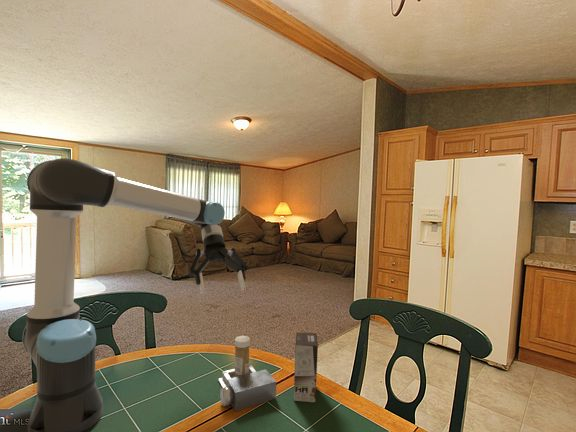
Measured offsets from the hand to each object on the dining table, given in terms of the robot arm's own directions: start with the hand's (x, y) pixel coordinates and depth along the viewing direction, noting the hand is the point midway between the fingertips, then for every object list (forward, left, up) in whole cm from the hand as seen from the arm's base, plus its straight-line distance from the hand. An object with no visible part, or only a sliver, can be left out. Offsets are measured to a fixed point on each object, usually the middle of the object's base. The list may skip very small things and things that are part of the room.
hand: (223, 290), depth 102 cm
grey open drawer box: (+2, -14, -26) cm, 29 cm away
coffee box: (+18, -23, -26) cm, 39 cm away
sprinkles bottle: (+3, -11, -25) cm, 28 cm away
